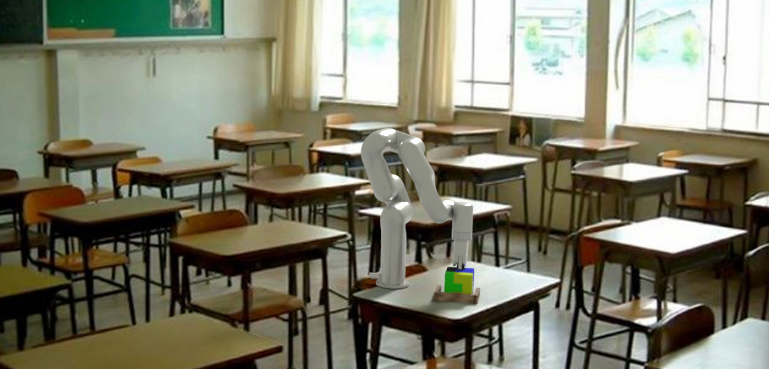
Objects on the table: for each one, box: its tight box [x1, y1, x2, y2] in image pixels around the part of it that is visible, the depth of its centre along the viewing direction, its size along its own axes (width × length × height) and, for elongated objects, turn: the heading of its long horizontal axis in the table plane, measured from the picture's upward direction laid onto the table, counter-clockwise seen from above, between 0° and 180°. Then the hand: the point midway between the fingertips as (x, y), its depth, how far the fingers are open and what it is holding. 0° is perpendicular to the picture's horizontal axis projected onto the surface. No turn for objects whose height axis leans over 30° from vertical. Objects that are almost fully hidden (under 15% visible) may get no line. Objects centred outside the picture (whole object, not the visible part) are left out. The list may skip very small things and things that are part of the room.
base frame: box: [433, 284, 481, 304], centre depth 393 cm, size 16×11×3 cm
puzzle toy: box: [443, 266, 475, 294], centre depth 394 cm, size 10×10×10 cm
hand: (460, 283), depth 402 cm, fingers closed
